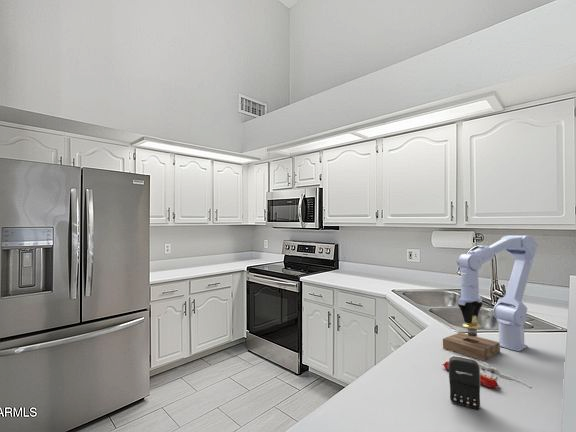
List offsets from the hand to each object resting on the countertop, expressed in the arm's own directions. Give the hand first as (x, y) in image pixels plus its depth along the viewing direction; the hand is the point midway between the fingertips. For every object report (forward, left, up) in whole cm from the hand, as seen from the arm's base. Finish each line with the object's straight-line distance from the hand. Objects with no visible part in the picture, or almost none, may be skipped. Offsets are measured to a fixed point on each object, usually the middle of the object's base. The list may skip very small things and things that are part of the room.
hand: (470, 321), depth 113 cm
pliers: (+16, +14, -11) cm, 24 cm away
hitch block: (0, 0, -10) cm, 10 cm away
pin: (0, +1, -5) cm, 5 cm away
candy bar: (+24, +10, -11) cm, 28 cm away
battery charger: (+41, +16, -11) cm, 45 cm away
